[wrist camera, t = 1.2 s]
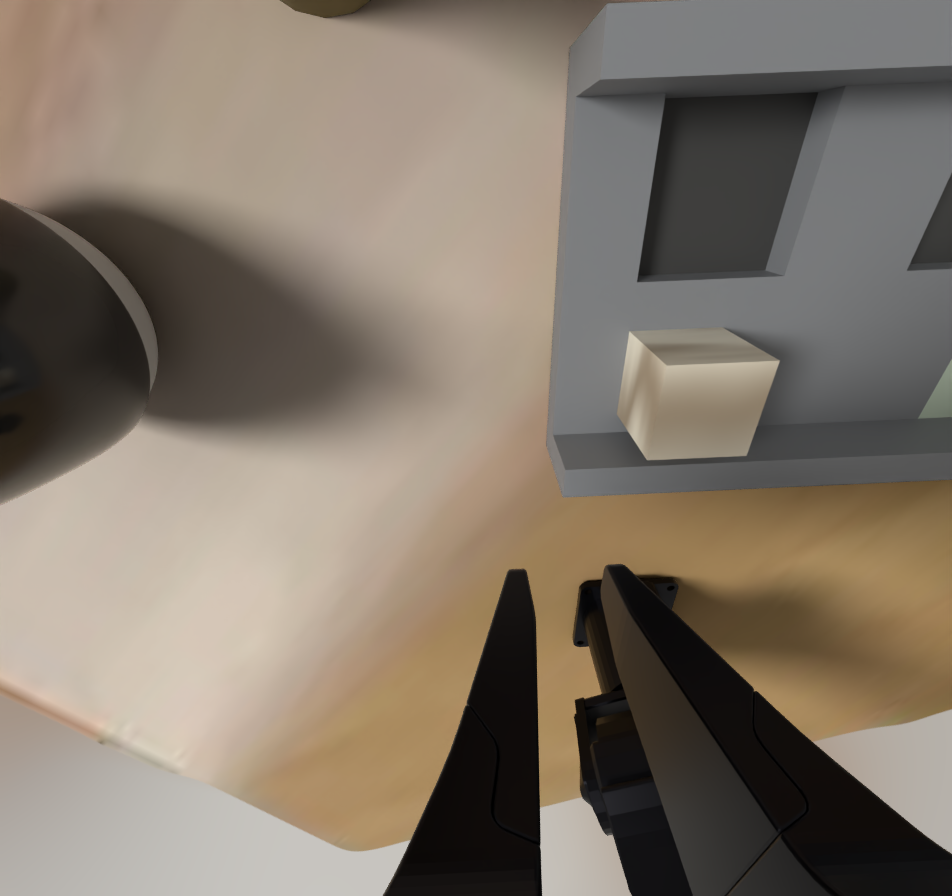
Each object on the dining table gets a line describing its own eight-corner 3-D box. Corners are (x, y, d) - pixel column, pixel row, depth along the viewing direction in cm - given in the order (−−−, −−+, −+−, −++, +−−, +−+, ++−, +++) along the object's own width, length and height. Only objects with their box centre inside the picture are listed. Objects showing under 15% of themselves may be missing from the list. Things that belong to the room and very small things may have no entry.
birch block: (700, 410, 21) (746, 455, 17) (616, 414, 21) (646, 460, 17) (722, 327, 19) (779, 360, 15) (629, 331, 19) (666, 365, 15)
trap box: (1026, 423, 24) (1135, 471, 20) (546, 445, 23) (562, 497, 20) (1318, 17, 15) (1609, -36, 11) (569, 48, 15) (606, 3, 11)
